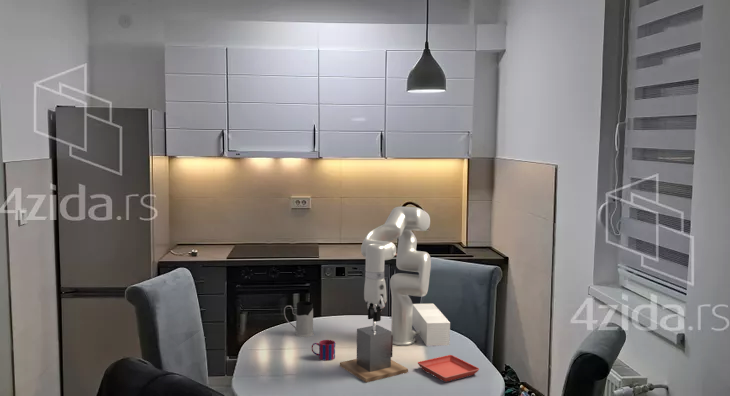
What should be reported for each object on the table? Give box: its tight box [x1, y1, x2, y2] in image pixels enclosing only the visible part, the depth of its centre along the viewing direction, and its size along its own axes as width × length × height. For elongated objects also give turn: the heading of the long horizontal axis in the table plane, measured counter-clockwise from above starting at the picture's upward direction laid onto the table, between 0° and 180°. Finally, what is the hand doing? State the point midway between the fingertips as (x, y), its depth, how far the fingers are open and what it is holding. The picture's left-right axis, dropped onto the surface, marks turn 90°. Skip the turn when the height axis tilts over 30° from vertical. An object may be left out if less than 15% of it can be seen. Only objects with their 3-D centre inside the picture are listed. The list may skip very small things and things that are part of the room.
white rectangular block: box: [412, 303, 451, 347], centre depth 298 cm, size 32×11×11 cm, turn 8°
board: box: [339, 358, 409, 383], centre depth 253 cm, size 20×20×2 cm
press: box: [356, 324, 394, 372], centre depth 253 cm, size 13×10×15 cm
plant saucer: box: [417, 354, 480, 383], centre depth 251 cm, size 18×18×3 cm
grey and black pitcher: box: [283, 300, 315, 338], centre depth 295 cm, size 9×14×15 cm, turn 89°
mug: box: [311, 339, 336, 362], centre depth 266 cm, size 7×10×7 cm
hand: (374, 319), depth 251 cm, fingers closed on plunger, 3 cm apart
